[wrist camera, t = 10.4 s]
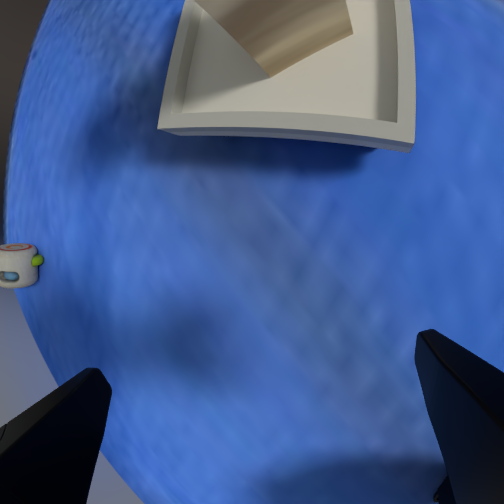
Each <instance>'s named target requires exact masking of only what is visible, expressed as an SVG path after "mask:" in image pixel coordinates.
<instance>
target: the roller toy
mask: <svg viewBox="0 0 504 504" xmlns="http://www.w3.org/2000/svg"><path fill="white" fill-rule="evenodd" d="M42 263H43V257H42V256H41V255H39V254H37V248H36V247H35V246H33V245H31V244H23V243H14V244H5V245H1V246H0V287H4V288H22V287H27V286H30V285H32V284H34V283H35V282H36V281H37V279H38V265H40V264H42Z"/></svg>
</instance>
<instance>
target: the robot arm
mask: <svg viewBox="0 0 504 504" xmlns="http://www.w3.org/2000/svg"><path fill="white" fill-rule="evenodd" d="M415 365H416V368H417V372H418V376H419V380H420V383H421V387H422V391H423V395H424V399H425V404H426V408H427V411H428V415H429V418H430V421H431V423H432V426H433V429H434V432H435V435H436V438H437V441H438V444H439V447H440V450H441V453H442V456H443V459H444V462H445V465H446V469H447V472H448V475H447V477H446V478H445V480H444V481H443V482H442V484H441V485H440V487H439V488H438V491H437V492H436V493H435V495H434V496H433V500H434V502H439V504H504V372H502V371H501V370H499V369H497V368H496V367H494V366H493V365H491V364H489V363H488V362H486V361H485V360H483V359H481V358H480V357H478V356H477V355H475V354H473V353H472V352H470V351H469V350H467V349H465V348H464V347H462V346H460V345H459V344H457V343H456V342H454V341H452V340H451V339H449V338H447V337H446V336H444V335H442V334H441V333H439V332H438V331H436V330H434V329H429V330H425V331H421V332H419V333H418V335H417V340H416V348H415ZM111 396H112V389H111V386H110V384H109V383H108V381H107V380H106V378H105V377H104V375H103V373H102V372H101V371H100V370H99V369H98V368H86V369H84V370H83V371H81V372H80V373H78V374H77V375H76V376H74V377H73V378H71V379H70V380H68V381H67V382H65V383H64V384H63V385H61V386H60V387H58V388H57V389H55V390H54V391H53V392H51V393H50V394H48V395H47V396H45V397H44V398H42V399H41V400H40V401H38V402H37V403H35V404H34V405H33V406H31V407H30V408H28V409H27V410H25V411H24V412H22V413H21V414H19V415H18V416H17V417H15V418H14V419H12V420H11V421H9V422H8V424H5V425H3V426H2V427H1V428H0V504H86V502H87V498H88V493H89V489H90V485H91V481H92V477H93V473H94V469H95V465H96V462H97V458H98V454H99V450H100V447H101V443H102V440H103V436H104V431H105V426H106V421H107V416H108V410H109V405H110V400H111Z"/></svg>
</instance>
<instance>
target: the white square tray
mask: <svg viewBox="0 0 504 504" xmlns="http://www.w3.org/2000/svg"><path fill="white" fill-rule="evenodd" d="M346 4H347V8H348V12H349V16H350V20H351V25H352V29H353V34H352V35H350V36H348V37H346V38H344V39H342V40H340V41H338V42H336V43H334V44H332V45H330V46H328V47H326V48H324V49H322V50H320V51H318V52H316V53H314V54H312V55H310V56H308V57H306V58H305V59H303V60H301V61H299V62H297V63H295V64H294V65H292V66H290V67H288V68H287V69H285V70H283V71H281V72H280V73H278V74H276V75H275V76H273V77H270V76H269V75H268V74H267V73H266V72H265V71H264V70H263V69H262V68H261V66H260V65H259V64H258V63H257V62H256V61H255V60H254V59H253V58H252V57H251V56H250V55H249V54H248V53H247V52H246V51H245V49H244V48H243V47H242V46H241V45H240V44H239V43H238V42H237V41H236V40H235V39H234V38H233V37H232V36H231V35H230V34H229V33H228V32H227V31H226V30H225V29H224V28H223V27H222V26H221V25H220V24H218V23H217V22H216V21H215V20H214V19H213V18H212V17H211V16H210V15H209V14H208V13H207V12H206V11H205V10H204V9H202V8H201V7H200V6H199V5H198V4H197V3H196V2H195V1H194V0H185V3H184V6H183V10H182V14H181V17H180V21H179V25H178V29H177V33H176V37H175V41H174V45H173V50H172V54H171V58H170V63H169V68H168V72H167V77H166V82H165V87H164V93H163V98H162V104H161V109H160V115H159V121H158V127H157V129H159V130H163V131H166V132H169V133H172V134H175V135H178V136H249V137H271V138H287V139H301V140H313V141H323V142H333V143H342V144H350V145H358V146H366V147H373V148H380V149H386V150H393V151H399V152H405V153H410V151H411V149H412V147H413V145H414V141H415V115H416V76H415V51H414V36H413V25H412V15H411V6H410V0H346Z"/></svg>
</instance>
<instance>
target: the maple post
mask: <svg viewBox="0 0 504 504" xmlns="http://www.w3.org/2000/svg"><path fill="white" fill-rule="evenodd" d="M194 1H195V2H196V3H197V4H198V5H199V6H200V7H201V8H202V9H204V10H205V11H206V12H207V13H208V14H209V15H210V16H211V17H212V18H213V19H214V20H215V21H216V22H217V23H218V24H220V25H221V26H222V27H223V28H224V29H225V30H226V31H227V32H228V33H229V34H230V35H231V36H232V37H233V38H234V39H235V40H236V41H237V42H238V43H239V44H240V45H241V46H242V47H243V48H244V49H245V51H246V52H247V53H248V54H249V55H250V56H251V57H252V58H253V59H254V60H255V61H256V62H257V63H258V64H259V65H260V66H261V68H262V69H263V70H264V71H265V72H266V73H267V74H268V75H269V76H270V77H273V76H275V75H276V74H278V73H280V72H281V71H283V70H285V69H287V68H288V67H290V66H292V65H294V64H295V63H297V62H299V61H301V60H303V59H305V58H306V57H308V56H310V55H312V54H314V53H316V52H318V51H320V50H322V49H324V48H326V47H328V46H330V45H332V44H334V43H336V42H338V41H340V40H342V39H344V38H346V37H348V36H350V35H352V34H353V29H352V25H351V20H350V16H349V12H348V8H347V4H346V0H194Z"/></svg>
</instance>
